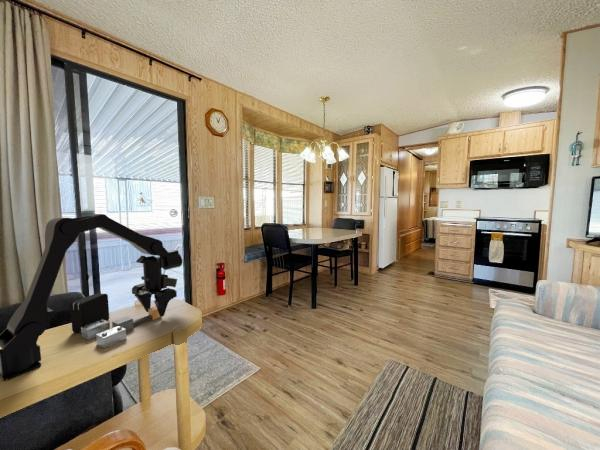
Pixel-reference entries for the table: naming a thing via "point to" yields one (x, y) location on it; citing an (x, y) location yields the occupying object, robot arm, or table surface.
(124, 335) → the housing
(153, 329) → the table surface
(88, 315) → the electronic device
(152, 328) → the table surface
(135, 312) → the table surface
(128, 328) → the orange and grey dumbbell
